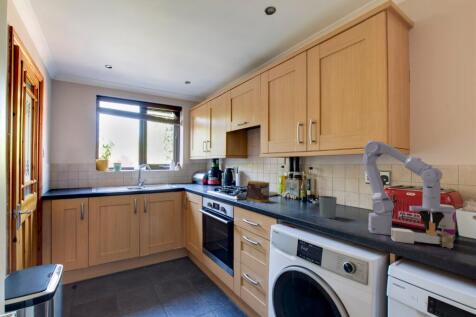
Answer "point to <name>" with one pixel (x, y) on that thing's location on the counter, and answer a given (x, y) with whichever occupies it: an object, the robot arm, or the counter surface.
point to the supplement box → (258, 191)
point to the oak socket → (446, 239)
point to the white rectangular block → (402, 235)
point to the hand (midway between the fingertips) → (430, 229)
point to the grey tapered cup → (327, 206)
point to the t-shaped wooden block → (428, 235)
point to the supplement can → (447, 221)
